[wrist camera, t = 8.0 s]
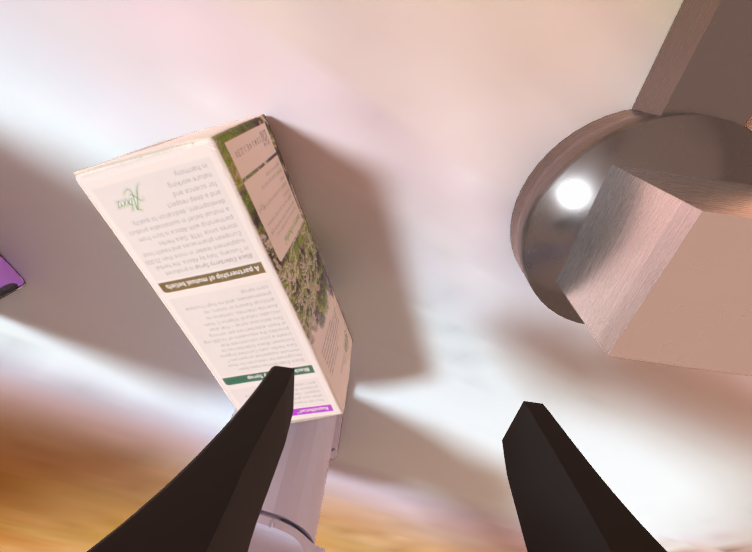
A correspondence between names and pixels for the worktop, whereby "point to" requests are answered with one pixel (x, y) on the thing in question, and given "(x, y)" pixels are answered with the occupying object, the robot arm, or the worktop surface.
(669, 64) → the ratchet
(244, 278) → the syrup box
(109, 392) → the worktop surface
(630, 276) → the beige small block
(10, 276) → the candy box
